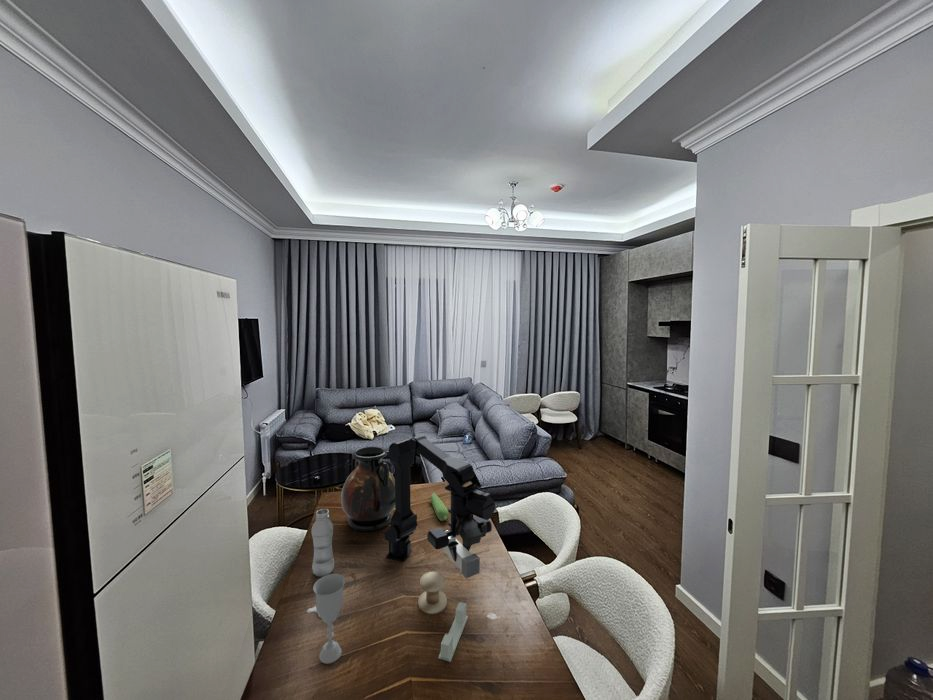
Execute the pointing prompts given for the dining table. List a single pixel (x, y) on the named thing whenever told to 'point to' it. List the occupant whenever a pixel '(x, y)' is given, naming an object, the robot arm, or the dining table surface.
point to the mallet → (465, 560)
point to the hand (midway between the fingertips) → (460, 558)
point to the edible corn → (439, 507)
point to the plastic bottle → (322, 544)
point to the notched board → (453, 634)
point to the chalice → (329, 611)
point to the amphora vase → (369, 490)
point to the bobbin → (432, 593)
